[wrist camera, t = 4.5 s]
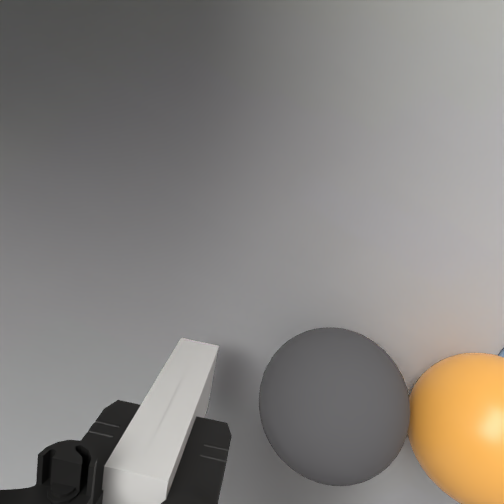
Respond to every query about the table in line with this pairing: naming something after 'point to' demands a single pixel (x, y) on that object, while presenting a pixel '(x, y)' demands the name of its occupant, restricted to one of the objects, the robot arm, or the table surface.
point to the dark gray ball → (334, 406)
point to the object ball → (461, 426)
